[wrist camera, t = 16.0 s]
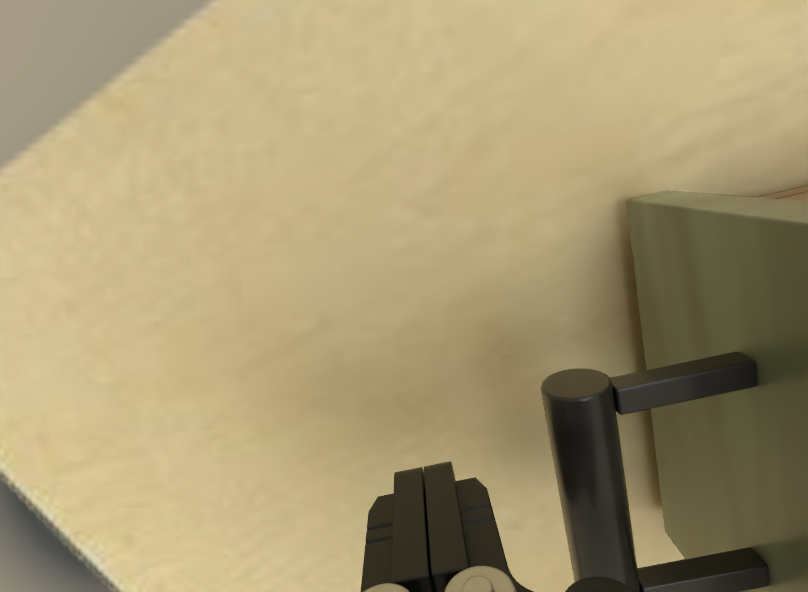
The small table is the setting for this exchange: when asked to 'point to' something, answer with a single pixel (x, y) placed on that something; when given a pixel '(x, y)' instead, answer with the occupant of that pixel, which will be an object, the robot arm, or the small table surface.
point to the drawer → (701, 401)
